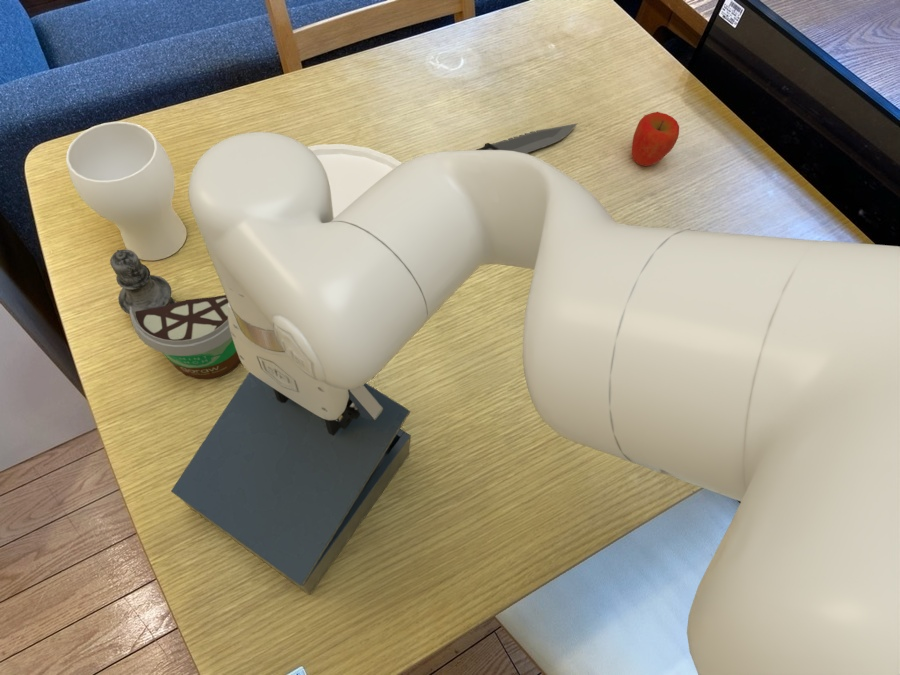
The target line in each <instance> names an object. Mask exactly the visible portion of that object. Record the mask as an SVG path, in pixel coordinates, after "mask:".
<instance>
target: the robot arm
mask: <svg viewBox="0 0 900 675" xmlns="http://www.w3.org/2000/svg"><path fill="white" fill-rule="evenodd" d="M308 147H309V146H307V145H305V144H304V143H302V142H300V141H299V140H297V139H295V138H293V137H291V136H288V135H285V134H282V133H278V132H269V131H251V132H245V133H238V134H235V135H233V136H230V137H229V136H228V137H227V138H225V139H222V140H221V141H218V142H216V143H215V144H214V145H212V146H211V147H208V149H207V150H206V151H205V152H204V153H203V154H202V155H201V156H200V157H199V159H198V160H197V162H196V164H194V166H193V169H192V171H191V173H190V176H189V182H188V188H187V189H188V191H187V192H188V203H189V206H190V209H191V212H192V215H193V218H194V221H195V223H196V226H197V228H198V230H199V233H200V236H201V238H202V241H203V243H204V245H205V248H206V250H207V252H208V255H209V257H210V259H211V262H212V264H213V268H214V270H215V272H216V274H217V277H218V280H219V282H220V284H221V287H222V289H223V292H224V295H226V297H227V299H228V322H229V328H230V332H231V335H232V339H233V342H234V345H235V348H236V351H237V353H238V356H239V358H240V360H241V363H240V364H242V367H244V368H245V370H247V371H248V373H249V372H250V373H252V374H253V375H254V376H256V377H257V378H259V379H260V380H262V381H263V382H265V383H266V384H268V385H269V386H271V387H272V388H273V390H274V392H275V395H276V398H277V400H278V401H279V402H281V403H286V402H287V401H288V399H289V398H290V399H291V400H293V401H294V402H296V403H298V404H299V405H301V406H302V407H304V408H306V409H307V410H309V411H310V412H312V413H314V414H315V415H317V416H319V417H321V418H323V419H325V422H326V426H327V430H328V433H330V434H331V435H333V436H334V435H335V434H336V433H337V431H338V430H339V429H340V428H341V427H342V428H343V429H345V428H346V427H347V426H348V425H349V424H350V422H351V421H352V419H357V418H358V417H359V416H361V417H362V418H363V419H367V420H371V421H375V420H376V418H377V417H378V416H379V414H380V413H381V412H382V410H383V408H382V406H381V405H380V404H379V403H378V402H377V400H376V399H375V398H374V397H373V396H372V394H371V393H370V392H369V391H368V390H367V389H366V387H365V386H364V384H365V383H367V384H368V382H370V381H372V379H374V378H375V377H376V376H377V375H378V374H380V372H381V371H383V369H384V368H385V367H386V366H387V365H388V364H389V363H390V362H391V361H392V359H393V358H394V357H396V355H397V354H398V353H399V352H400V351H401V350H402V349H403V348H404V347H405V346H406V345H407V344H408V343H409V341H411V339H413V337H414V336H416V334H417V333H418V332H419V331H420V330H421V329H422V328H423V327H424V326H425V325H426V323H427V322H428V321H429V320H430V319H431V318H432V317H433V316H434V315H435V314H436V313H437V312H438V311H439V310H440V309H441V308H442V307H443V306H444V304H446V302H447V301H448V300H449V299H450V298H451V297H452V296H453V295H454V294H455V293H456V292H457V291H458V289H459V288H461V286H462V285H464V283H465V282H466V281H467V280H468V279H470V277H472V275H473V274H475V272H476V271H477V270H478V269H479V268H480V267H482V266H486V265H487V266H488V265H499V266H508V267H515V268H521V269H528V270H533V273H532V278H531V282H530V285H529V289H528V294H527V299H526V300H527V301H526V306H525V310H524V311H525V312H524V321H523V329H522V330H523V331H522V366H523V367H522V368H523V374H524V379H525V384H526V388H527V392H528V394H529V397H530V400H531V403H532V404H533V407H534V408H535V411H536V412H537V414H538V416H539V417H540V419H541V420H542V421H543V422H544V423H545V424H546V425H547V426H548V427H549V428H550V429H552V430H553V432H555V433H556V434H557V435H558V436H560V437H562V438H564V439H566V440H568V441H570V442H572V443H574V444H578V445H581V446H583V447H587V448H590V449H593V450H596V451H598V452H602V453H604V454H607V455H610V456H613V457H616V458H618V459H621V460H624V461H627V462H629V463H632V464H635V465H638V466H641V467H643V468H646V469H649V470H652V471H655V472H656V473H657V472H658V473H660V474H663V475H666V476H669V477H672V478H675V479H678V481H679V480H680V481H682V482H685V483H688V484H690V485H693V486H696V487H699V488H702V489H705V490H708V491H710V492H712V493H716V494H718V495H722V496H725V497H727V498H730V499H732V500H735V501H737V502H740V503H739V505H738V507H737V509H736V511H735V512H734V515H733V517H732V518H731V521H730V523H729V525H728V526H727V529H726V531H725V533H724V535H723V537H722V538H721V540H720V543H719V545H718V546H717V549H716V550H715V552H714V554H713V556H712V558H711V560H710V562H709V564H708V565H707V568H706V570H705V571H704V574H703V576H702V578H701V580H700V582H699V583H698V586H697V589H696V591H695V594H694V597H693V600H692V603H691V606H690V610H689V613H688V616H687V626H686V637H687V643H688V650H689V654H690V657H691V659H692V663H693V665H694V667H695V670H696V673H697V674H698V675H900V246H898V245H887V244H886V245H885V244H875V243H874V244H872V243H860V242H847V241H836V240H816V239H815V240H814V239H804V238H803V239H802V238H791V237H779V236H768V235H767V236H766V235H754V234H743V233H742V234H741V233H729V232H716V231H703V230H696V229H687V228H673V227H657V226H644V225H637V224H628V223H621V222H618V221H616V220H615V218H613V216H612V215H611V214H610V212H608V210H607V209H606V207H604V205H603V203H601V201H600V200H599V199H598V198H597V197H596V196H595V195H594V194H593V193H592V192H591V191H590V190H588V189H587V188H586V187H585V186H584V185H583V184H581V183H579V182H578V181H577V180H576V179H574V178H572V177H571V176H569V175H568V174H567V173H565V172H564V171H562V170H561V169H559V168H558V167H556V166H554V165H552V164H551V163H549V162H546V160H543V159H541V158H539V157H537V156H534V155H531V154H529V153H526V154H525V153H520V152H515V151H507V150H476V149H460V150H456V149H455V150H441V151H435V152H430V153H425V154H421V155H418V156H415V157H413V158H411V159H409V160H407V161H404V162H401V163H402V164H401V165H399V166H397V167H396V168H394V169H393V170H392V171H390V172H389V173H388V174H386V175H385V176H384V177H383V178H381V179H380V180H379V181H378V182H376V183H375V184H374V185H373V186H371V187H370V188H369V189H368V190H367V191H365V192H364V193H363V194H362V195H361V196H360V197H358V198H357V199H356V200H355V201H354V202H353V203H352V204H350V205H349V206H348V207H347V208H346V209H345V210H343V211H342V212H341V213H340V214H339V215H338V216H336V217H335V218H334V215H333V207H332V198H331V190H330V185H329V181H328V177H327V173H326V171H325V169H324V167H323V165H322V163H321V162H320V160H319V159H318V158H317V156H316V155H315V154H314V153H313V152H312V151H311V150H310V149H309V148H308Z"/></svg>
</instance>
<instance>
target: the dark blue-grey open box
mask: <svg viewBox="0 0 900 675" xmlns="http://www.w3.org/2000/svg"><path fill="white" fill-rule="evenodd" d="M411 436H412V435H411V434H410V433H408V432H406V431H405V430H403V428H400V430H399V431H398V433H397V434H396V436H395V438H394V439H393V441H392V442H391V444H390V446H389V447H388V449H387V451H386V452H385V454H384V455H383V457H382V459H381V460H380V462H379V463H378V465H377V467H376V468H375V470H374V472H373V473H372V475H371V476H370V478H369V480H368V481H367V483H366V484H365V486H364V488H363V489H362V491H361V493H360V494H359V496H358V497H357V499H356V501H355V502H354V504H353V505H352V507H351V509H350V510H349V512H348V514H347V515H346V517H345V518H344V520H343V522H342V523H341V525H340V526H339V528H338V530H337V531H336V533H335V535H334V536H333V538H332V539H331V541H330V543H329V544H328V546H327V548H326V549H325V551H324V552H323V554H322V556H321V557H320V559H319V560H318V562H317V564H316V565H315V567H314V569H313V570H312V572H311V573H310V575H309V577H308V578H307V580H306V581H305V583H304V584H303V585H301V586H300V585H299V584H297V583H296V582H295V581H293V580H292V579H291V578H289V577H288V576H286V575H285V574H284V573H282V572H281V571H280V570H278V569H277V568H275V567H274V566H273V565H271V564H270V563H269V562H267V561H266V560H264V559H263V558H262V557H260V556H259V555H258V554H256V553H255V552H253V551H252V550H251V549H249V548H248V547H247V546H245V545H244V544H242V543H241V542H240V541H238V540H237V539H236V538H234V537H233V536H231V535H230V534H229V533H227V532H226V531H225V530H223V529H222V528H220V527H219V526H218V525H216V524H215V523H214V522H212V521H211V520H210V519H208V518H207V517H205V516H204V515H203V514H201V513H200V512H199V511H197V510H196V509H194V508H193V507H192V506H190V505H189V504H188V503H186V502H185V501H183V500H182V499H181V498H179V499H180V500H181V502H183V503H184V504H186V506H187V507H188V508H189V509H191V510H192V511H193V512H195V514H197V515H199V517H202V518H203V519H204V520H206V521H207V522H208V523H210V524H211V525H212V526H214V527H215V528H217V529H218V530H220V531H221V532H222V533H223V534H224V535H226V536H227V537H229V538H230V539H232V541H234V542H236V543H237V544H238V545H240V546H241V547H243V548H244V549H246V550H247V551H248V552H249V553H251V554H252V555H254V556H255V557H256V558H258V559H259V560H261V561H262V562H263V563H265V564H266V565H267V566H268V567H270V568H271V569H272V570H274V571H275V572H277V573H278V574H280V575H281V576H283V577H284V578H285V579H286V580H288V581H289V582H291V583H292V584H293V585H295V586H296V587H297V588H299V589H300V590H302V591H303V592H304V593H306V594H307V595H308V596H311V595H312V594H313V592H314V591H315V589H316V588H317V586H318V585H319V583H320V582H321V581H322V579H323V578H324V577H325V574H327V572H328V571H329V569H330V568H331V566H332V565H333V564H334V562H335V561H336V559H337V558H338V557H339V555H340V554H341V552H342V551H343V550H344V548H345V547H346V546H347V544H348V542H350V540H351V538H352V536H353V535H354V534H355V532H356V531H357V529H358V528H359V527H360V525H361V524H362V523H363V521H364V519H366V517H367V515H368V514H369V512H370V511H371V510H372V508H373V507H374V506H375V504H376V503H377V502H378V500H379V499H380V497H381V495H382V494H383V493H384V491H385V490H386V488H387V487H388V486H389V484H390V483H391V481H392V480H393V479H394V477H395V476H396V475H397V473H398V472H399V470H400V469H401V467H402V465H403V464H404V463H405V461H406V460H407V459H408V457H409V456H410V452H411V438H412V437H411Z"/></svg>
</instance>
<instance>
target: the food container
mask: <svg viewBox="0 0 900 675" xmlns="http://www.w3.org/2000/svg"><path fill="white" fill-rule="evenodd" d="M129 311H130V315H129V316H130V320H131V324H132V327H133V329H134V332H135V334H136V335H137V337H138V338H139V339H140V340H141V341H142V342H143V344H145V345H146V346H148V347H149V348H150V349H152V350H154V351H157V352H158V353H162V355H164V357H165V358H166V359H167V360H168V361H169V362H170V363H171V365H173V366H174V367H175V369H176V370H178V371H179V372H181V373H182V374H183V375H185V376H186V377H189V378H192V379H196V380H212V379H217V378H220V377H223V376H225V375H227V374H229V373H231V372H233V371H234V370H235V369H236V368H238V366H239V365H240V364H242V363H241V360H240V358H239V356H238V353H237V351H236V348H235V345H234V342H233V339H232V335H231V332H230V328H229V322H228V299H227V297H226V294H223V295H218V296H210V297H200V298H199V297H198V298H190V299H186V300H185V299H184V300H180V301H178V302H176V303H174V304H170V305H166V306H162V307H157V308H152V309H146V310H141V311H135V310H134V309H133V308H132V307H131V306H130V310H129Z"/></svg>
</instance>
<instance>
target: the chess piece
mask: <svg viewBox="0 0 900 675" xmlns="http://www.w3.org/2000/svg"><path fill="white" fill-rule="evenodd" d="M109 263H110V266H111V269H112V270H113V271H114V273H115V275H116V283H117V284H118V285H119V287H120V288H121V290H120V291H119V294H118V304H119V307H120V309H121V310H122V311H123V312H124V313H126V315H127V314H128V315H129V316H130V311H129V310H130V306H131V307H132V308H133V309H134V310H135V311H141V310H146V309H152V308H157V307H162V306H166V305H170V304H174V303H177V302H176V300H175V299H174V298H173V297H172V287H171V285H170V283H169V282H168V281H167V279H165V278H163V277H161V276H159V275H155V274H151V271H150V268H149V267H148V266H147V265H145V264H143V263H142V262H141V259H139V258H138V256H137V255H136V254H135V253H134V252H133V251H131V250H127V249H126V248H125V249H123V248H122V249H117V250H116V251H115V252H114V253H113V254H112V255H111V257H110V260H109Z"/></svg>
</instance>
